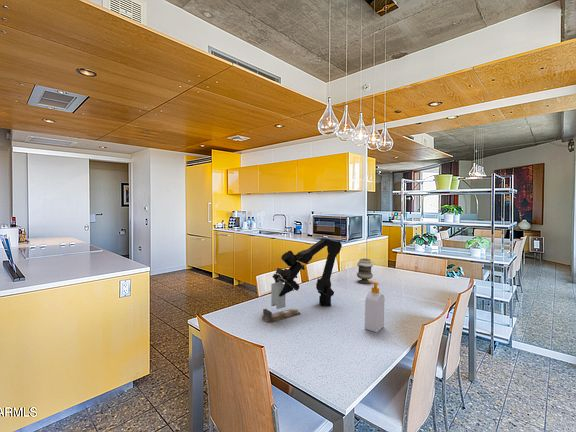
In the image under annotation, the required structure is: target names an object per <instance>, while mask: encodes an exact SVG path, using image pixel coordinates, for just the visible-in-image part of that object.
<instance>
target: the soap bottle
mask: <svg viewBox="0 0 576 432" xmlns="http://www.w3.org/2000/svg"><path fill="white" fill-rule="evenodd" d="M369 281H370V280H369ZM370 282H371V283H372V284H373V287H371V291H368V293H366V296H365V301H364V329H365V330H368V331H371V332H375V333H378V332H380V330H381V328H382V327H383V328H384V326H385V300H386V299H385V295H384V294H383V293H380V288H379V287H378V285H380V282H378V281H373V280H371V281H370ZM370 282H368V283H370ZM371 283H370V284H371Z"/></svg>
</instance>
